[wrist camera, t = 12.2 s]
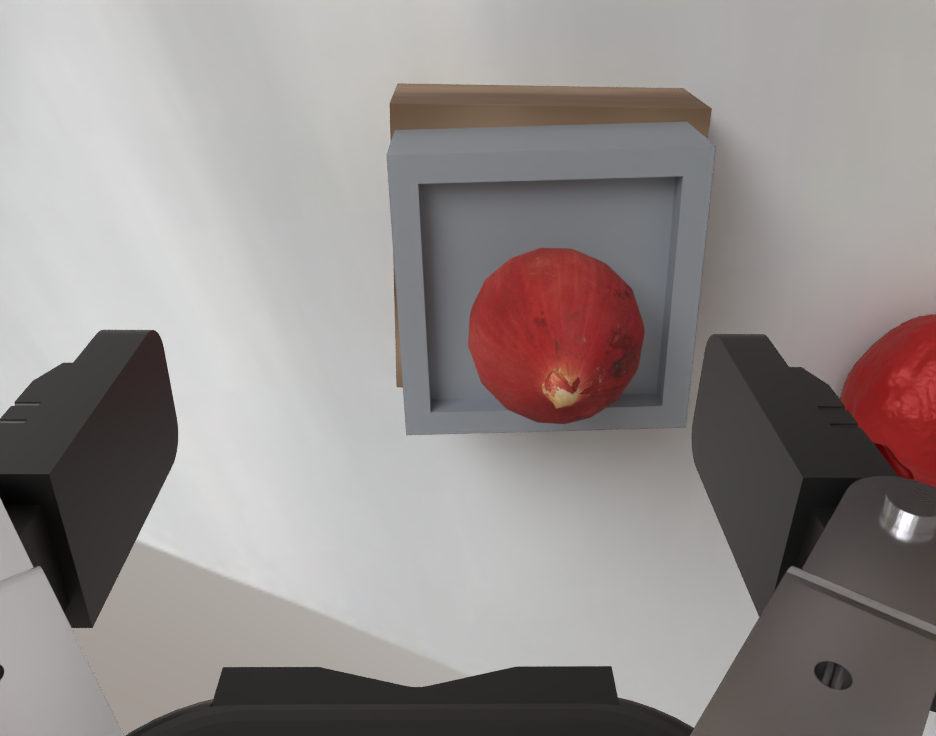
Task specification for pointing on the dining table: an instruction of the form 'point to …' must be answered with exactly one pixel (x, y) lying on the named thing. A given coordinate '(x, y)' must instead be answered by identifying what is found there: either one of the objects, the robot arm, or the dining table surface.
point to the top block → (545, 226)
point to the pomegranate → (899, 398)
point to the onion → (555, 335)
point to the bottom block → (535, 114)
